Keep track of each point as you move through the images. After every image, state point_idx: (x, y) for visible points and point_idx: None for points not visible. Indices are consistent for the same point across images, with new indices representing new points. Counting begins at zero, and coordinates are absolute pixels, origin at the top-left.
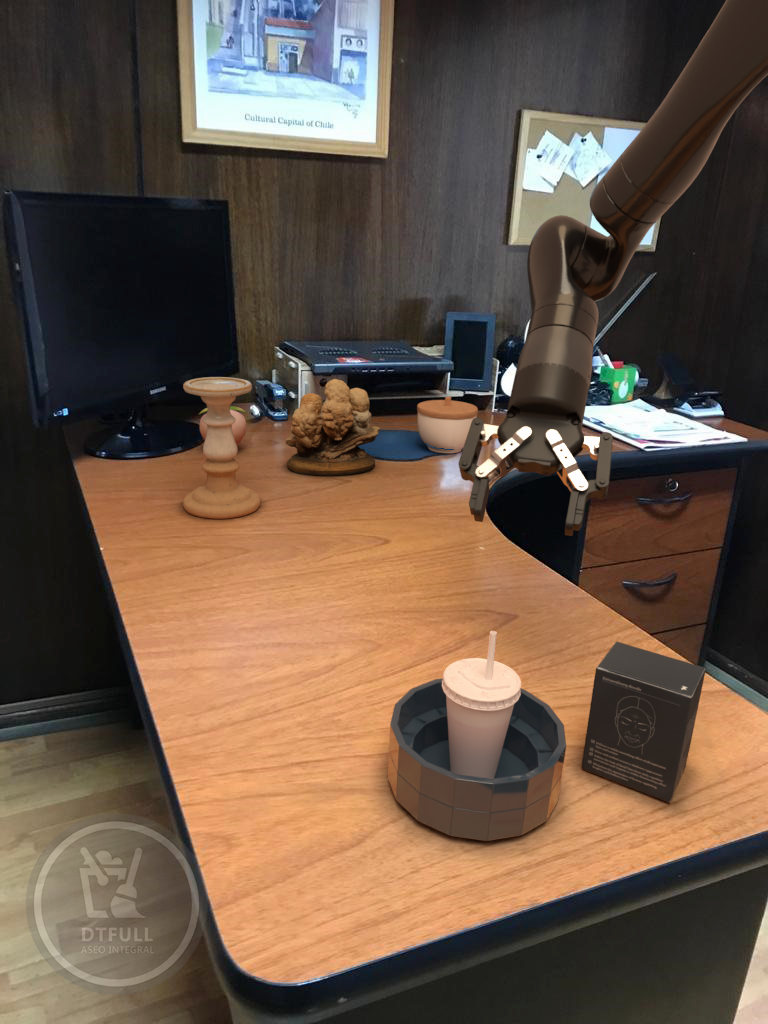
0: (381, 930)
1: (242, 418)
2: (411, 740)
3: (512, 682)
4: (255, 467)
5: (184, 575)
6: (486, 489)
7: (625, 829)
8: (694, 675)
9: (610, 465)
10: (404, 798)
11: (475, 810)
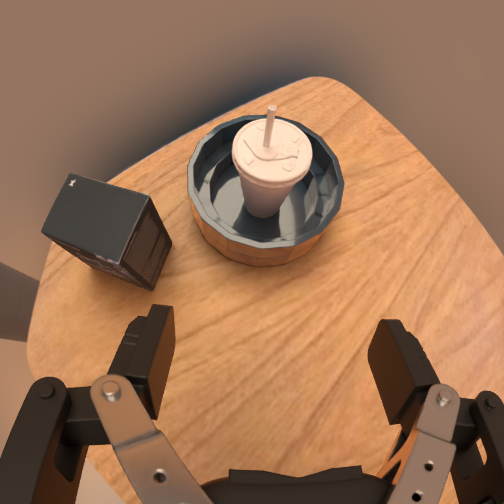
0: (286, 97)
1: None
2: (318, 188)
3: (241, 149)
4: None
5: None
6: (403, 371)
7: (146, 188)
8: (55, 208)
9: (8, 437)
10: None
11: None
